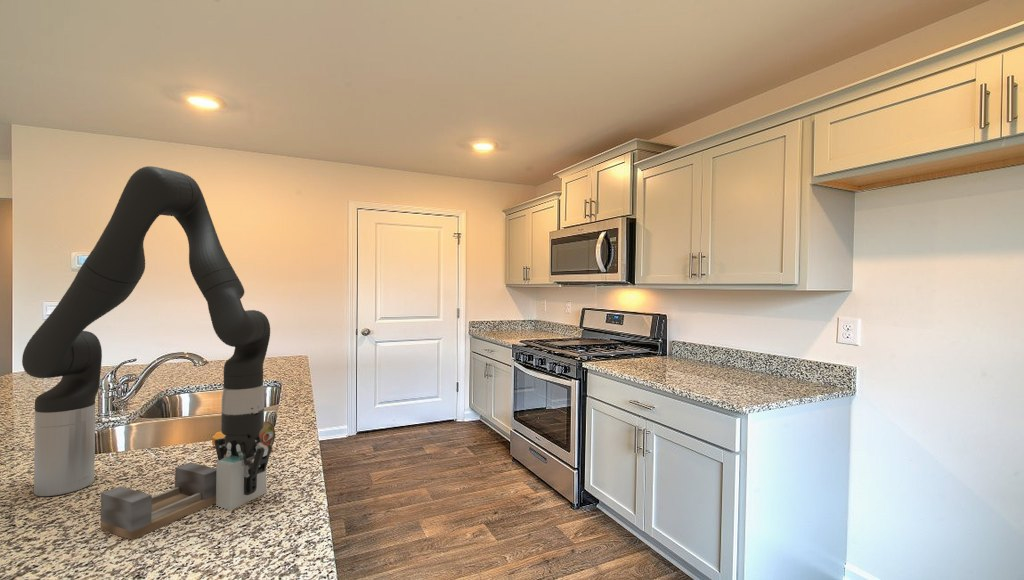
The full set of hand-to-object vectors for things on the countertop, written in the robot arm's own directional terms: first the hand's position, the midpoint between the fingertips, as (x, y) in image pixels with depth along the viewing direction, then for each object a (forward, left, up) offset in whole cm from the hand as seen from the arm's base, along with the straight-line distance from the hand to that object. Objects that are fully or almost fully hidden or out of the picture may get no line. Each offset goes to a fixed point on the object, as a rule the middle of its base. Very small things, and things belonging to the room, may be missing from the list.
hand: (241, 491), depth 93 cm
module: (0, 0, -2) cm, 2 cm away
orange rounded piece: (-25, +19, -2) cm, 32 cm away
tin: (-18, +16, -2) cm, 24 cm away
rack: (-8, -10, -2) cm, 13 cm away
